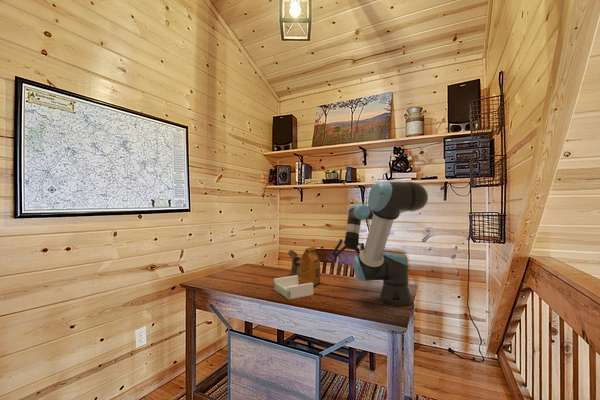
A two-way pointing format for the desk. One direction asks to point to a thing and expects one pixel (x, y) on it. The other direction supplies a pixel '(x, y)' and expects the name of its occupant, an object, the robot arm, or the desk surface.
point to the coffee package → (310, 267)
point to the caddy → (292, 287)
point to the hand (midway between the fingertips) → (347, 271)
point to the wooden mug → (295, 263)
